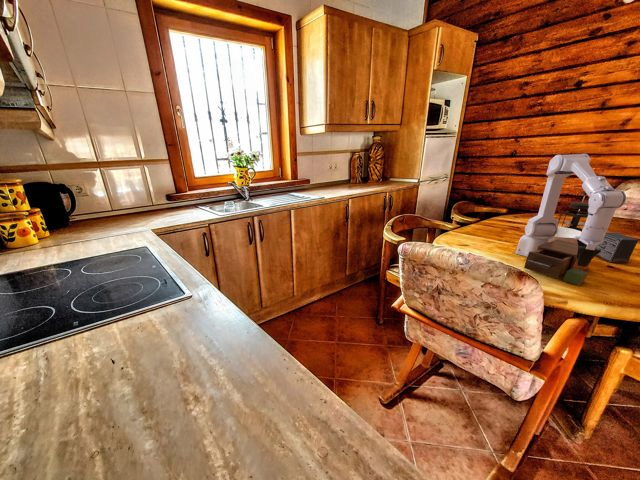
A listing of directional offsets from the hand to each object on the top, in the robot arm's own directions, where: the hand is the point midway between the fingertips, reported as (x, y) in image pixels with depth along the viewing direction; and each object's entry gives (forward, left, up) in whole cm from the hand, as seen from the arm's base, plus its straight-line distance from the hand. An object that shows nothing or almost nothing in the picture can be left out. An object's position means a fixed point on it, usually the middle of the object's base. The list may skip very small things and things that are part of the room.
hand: (581, 262), depth 101 cm
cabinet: (-9, +11, -8) cm, 16 cm away
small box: (-3, +38, -8) cm, 39 cm away
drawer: (-9, +1, -7) cm, 12 cm away
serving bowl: (-24, +40, -8) cm, 47 cm away
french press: (-27, +63, -8) cm, 69 cm away
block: (0, 0, -8) cm, 8 cm away
